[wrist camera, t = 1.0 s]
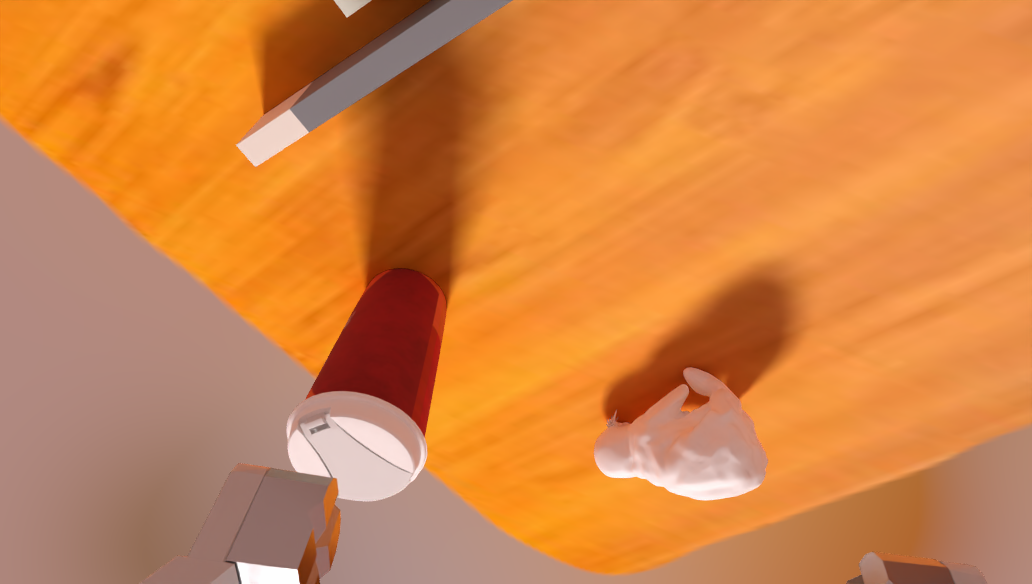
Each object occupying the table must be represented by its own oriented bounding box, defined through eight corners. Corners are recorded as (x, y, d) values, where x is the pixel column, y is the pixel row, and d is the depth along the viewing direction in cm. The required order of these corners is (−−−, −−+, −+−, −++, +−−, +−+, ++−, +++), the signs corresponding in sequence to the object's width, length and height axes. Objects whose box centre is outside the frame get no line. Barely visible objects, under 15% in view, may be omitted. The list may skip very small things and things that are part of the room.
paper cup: (327, 280, 50) (248, 436, 39) (421, 237, 47) (364, 391, 36) (394, 359, 54) (339, 522, 42) (484, 324, 51) (451, 488, 40)
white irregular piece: (783, 509, 46) (614, 545, 52) (770, 406, 53) (621, 448, 58) (739, 447, 43) (566, 493, 49) (732, 347, 50) (579, 398, 55)
